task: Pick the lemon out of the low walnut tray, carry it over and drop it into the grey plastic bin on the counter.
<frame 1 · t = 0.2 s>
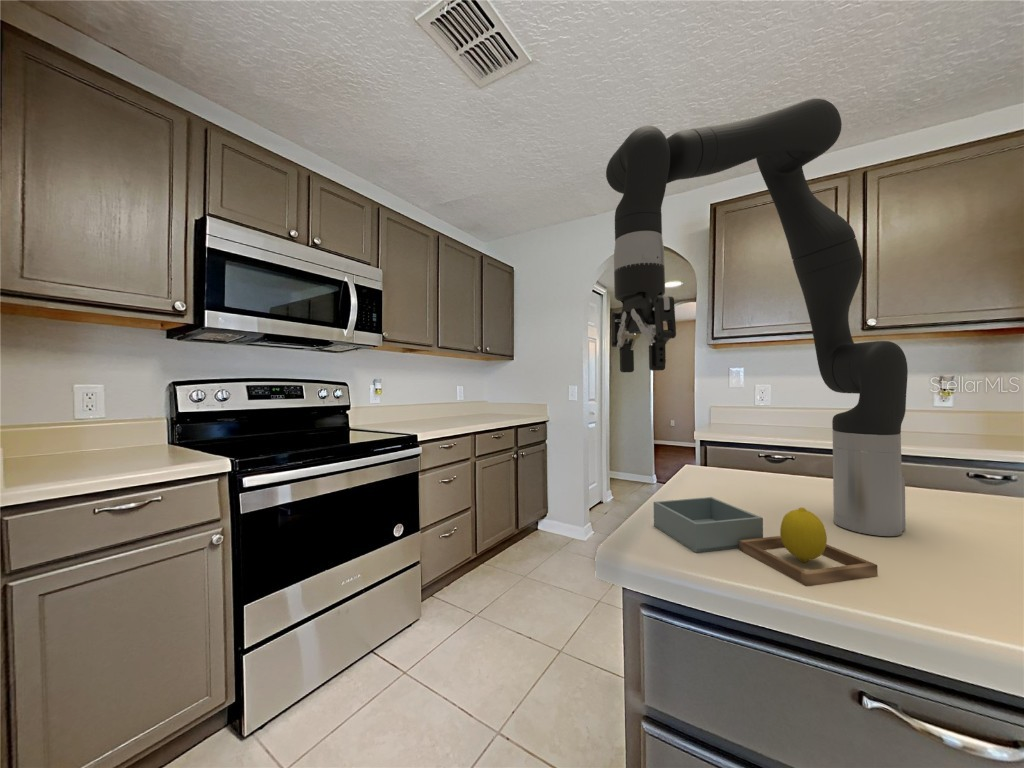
hand: (641, 371, 63), 29 cm above the counter, fingers open, 8 cm apart
tray: (803, 561, 59), on the counter
bin: (704, 535, 70), on the counter
lemon: (803, 563, 59), resting in tray
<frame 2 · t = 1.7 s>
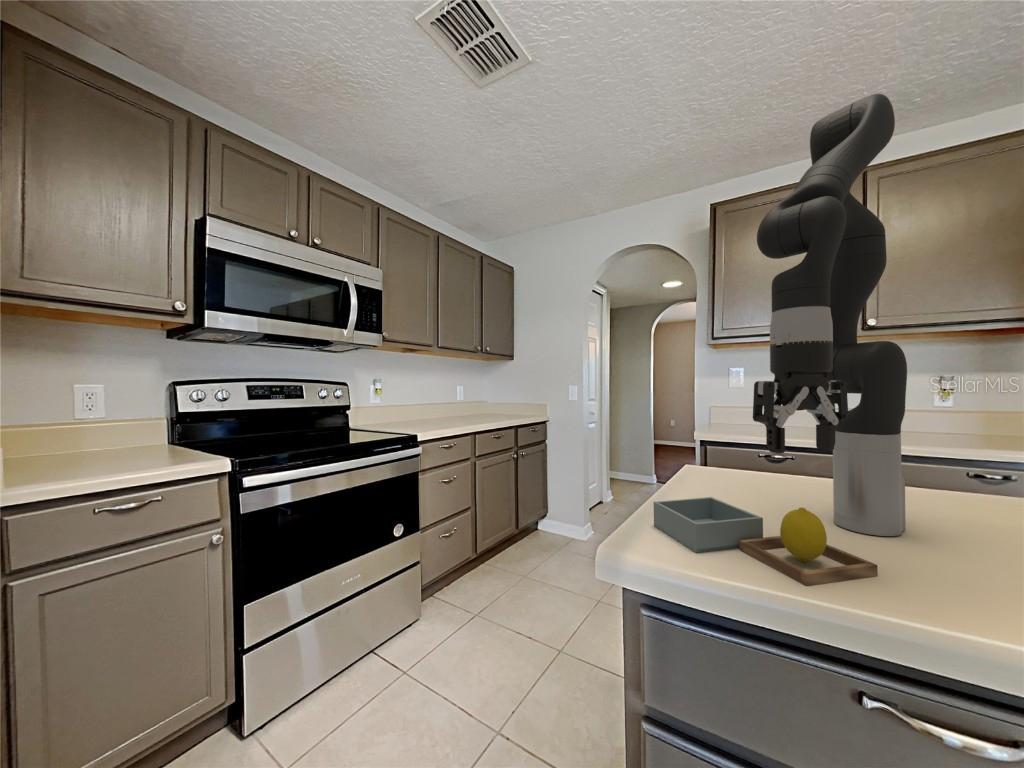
hand: (800, 451, 59), 16 cm above the counter, fingers open, 8 cm apart
nothing on the counter moved.
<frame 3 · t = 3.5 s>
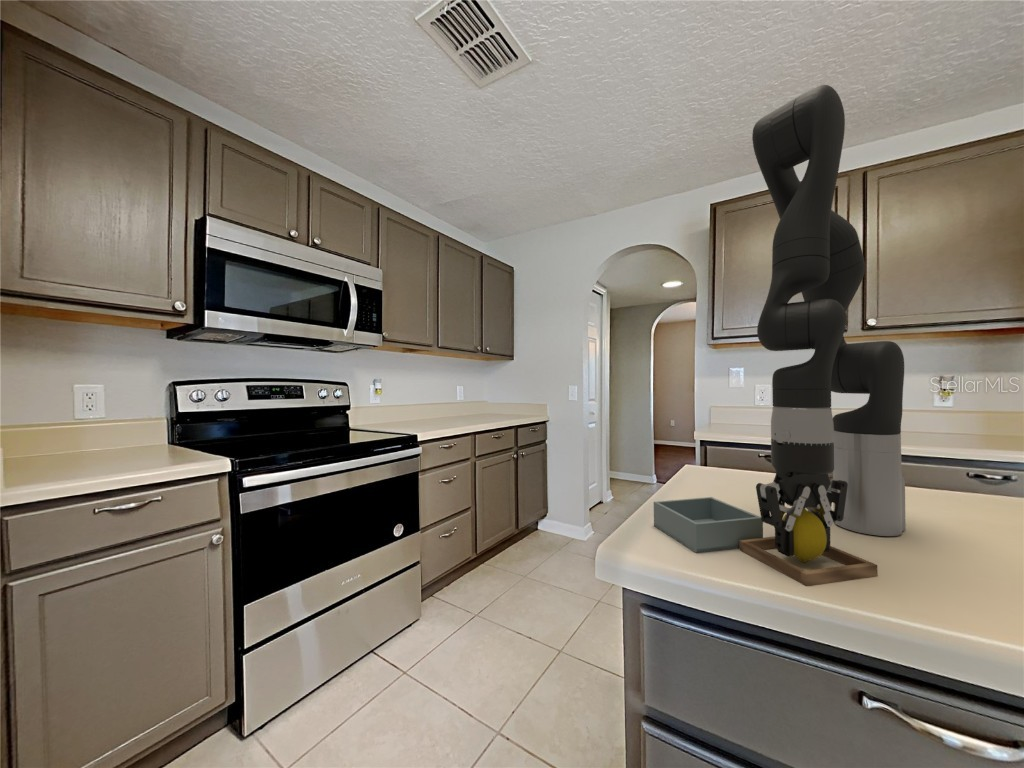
hand: (802, 551, 59), 2 cm above the counter, fingers closed on lemon, 5 cm apart
lemon: (803, 563, 59), resting in tray, touching gripper
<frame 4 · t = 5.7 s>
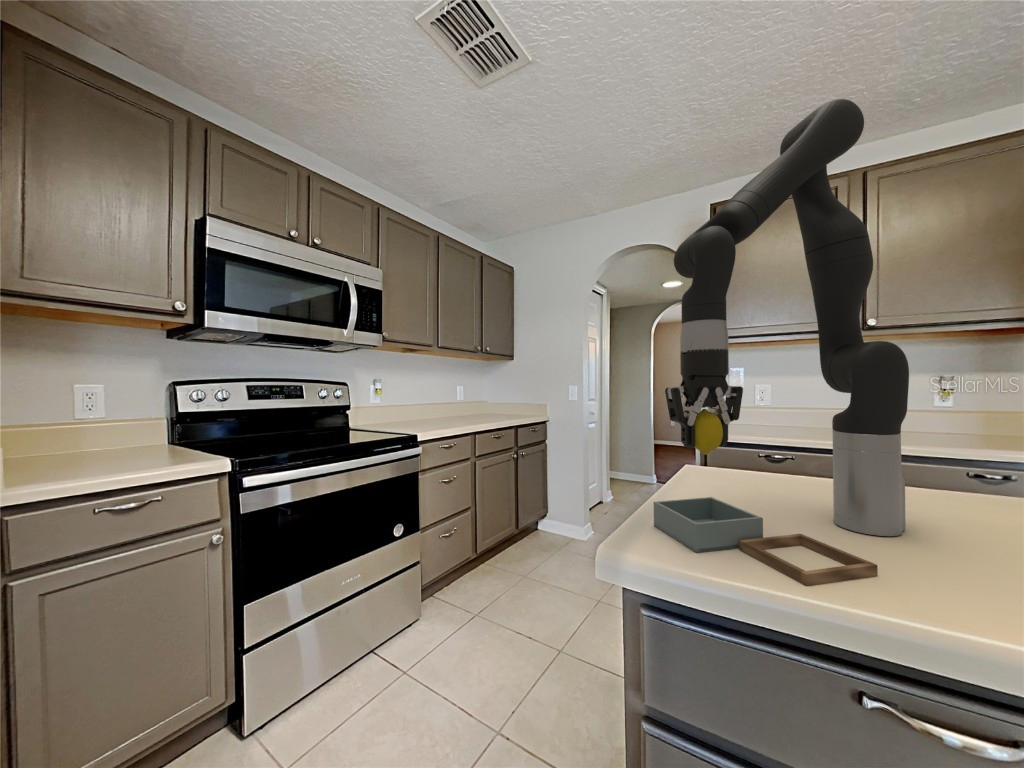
hand: (704, 445, 69), 16 cm above the counter, fingers closed on lemon, 5 cm apart
lemon: (705, 456, 69), point 14 cm above the counter, touching gripper
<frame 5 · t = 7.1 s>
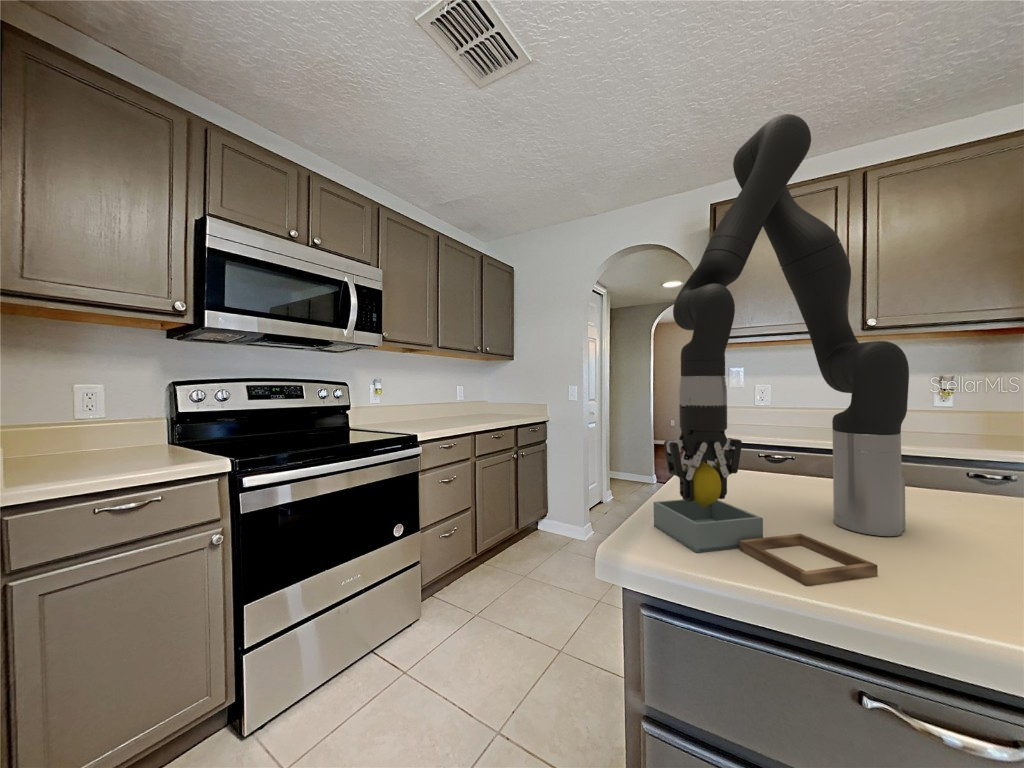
hand: (703, 498, 70), 6 cm above the counter, fingers closed on lemon, 5 cm apart
lemon: (703, 508, 70), point 5 cm above the counter, touching gripper
when the fingers open (4 cm above the counter, at t = 7.9 s): lemon drops 2 cm, resting on bin.
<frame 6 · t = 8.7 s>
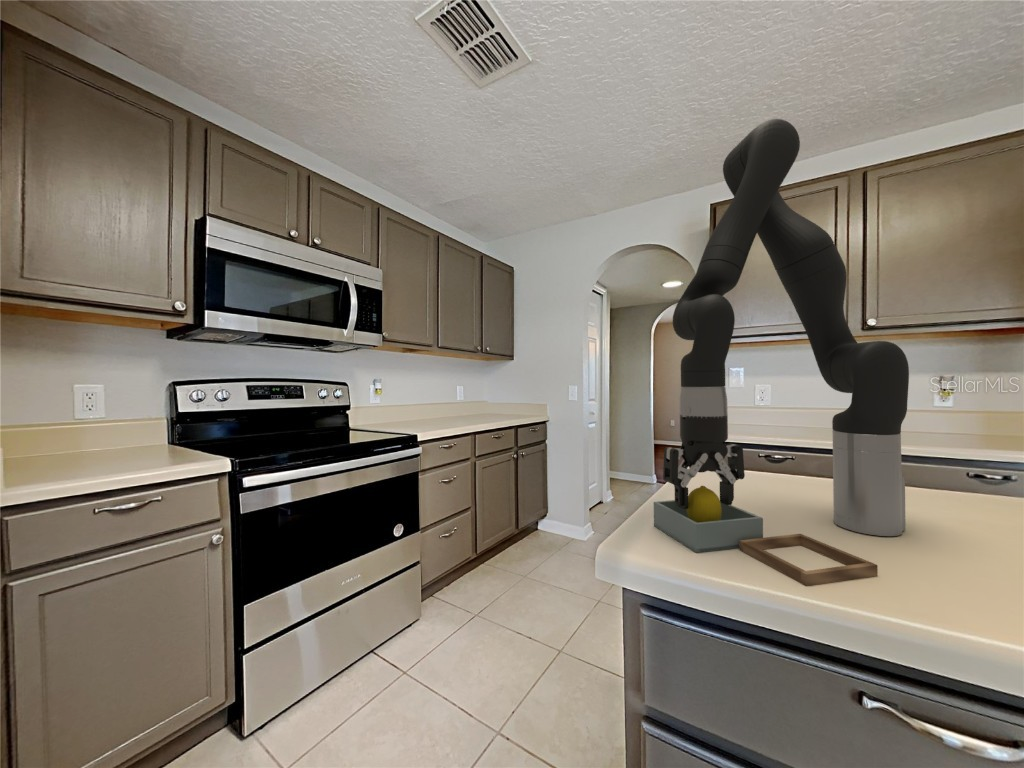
hand: (704, 505, 70), 5 cm above the counter, fingers open, 8 cm apart
lemon: (704, 532, 70), resting on bin
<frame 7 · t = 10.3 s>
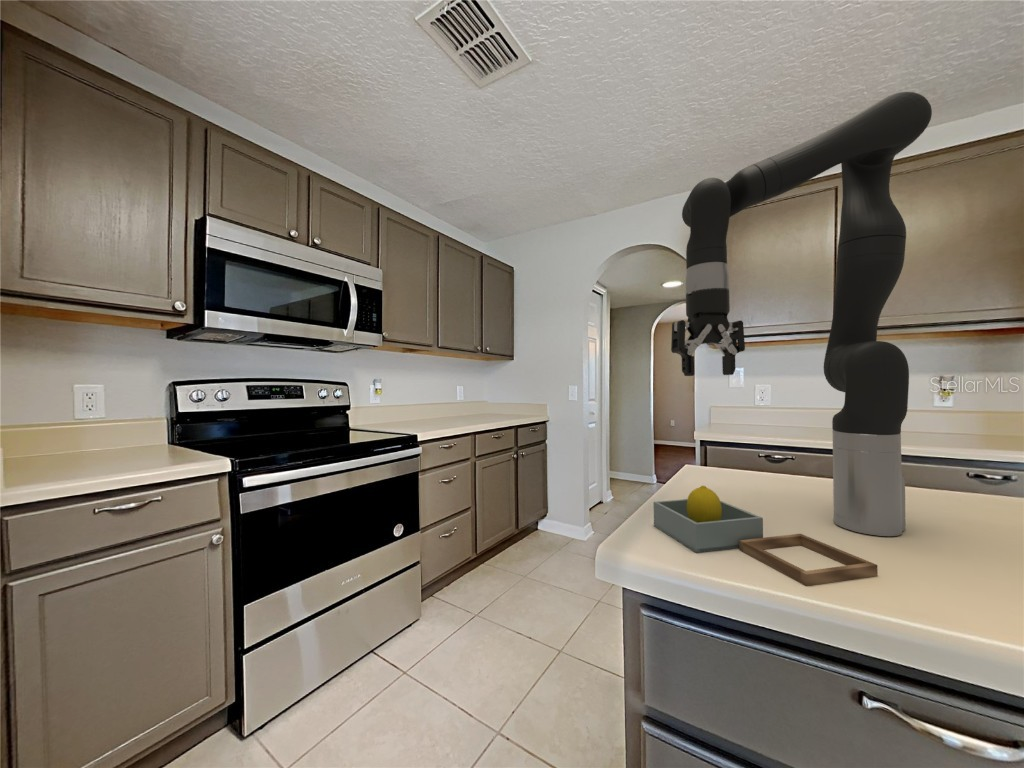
hand: (708, 375, 77), 28 cm above the counter, fingers open, 8 cm apart
nothing on the counter moved.
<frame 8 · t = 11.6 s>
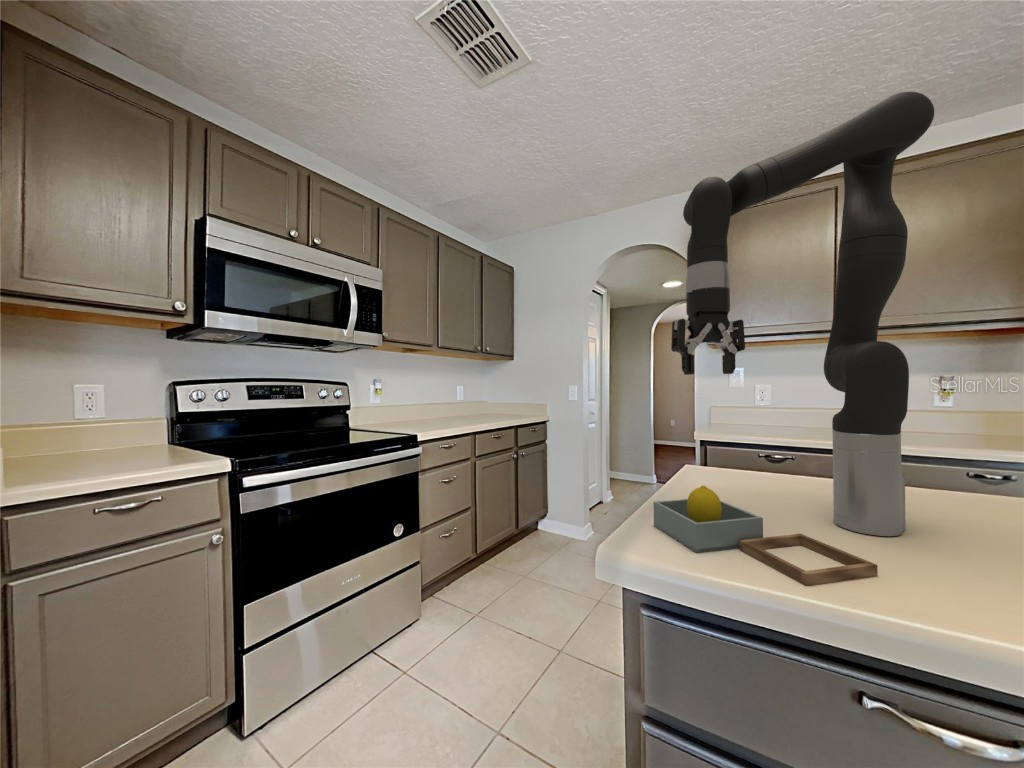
hand: (708, 374, 77), 28 cm above the counter, fingers open, 8 cm apart
nothing on the counter moved.
at the end: lemon inside the target area on the bin (0.1 cm from its centre), point 0.4 cm above the bin's base; the gripper is holding nothing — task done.
